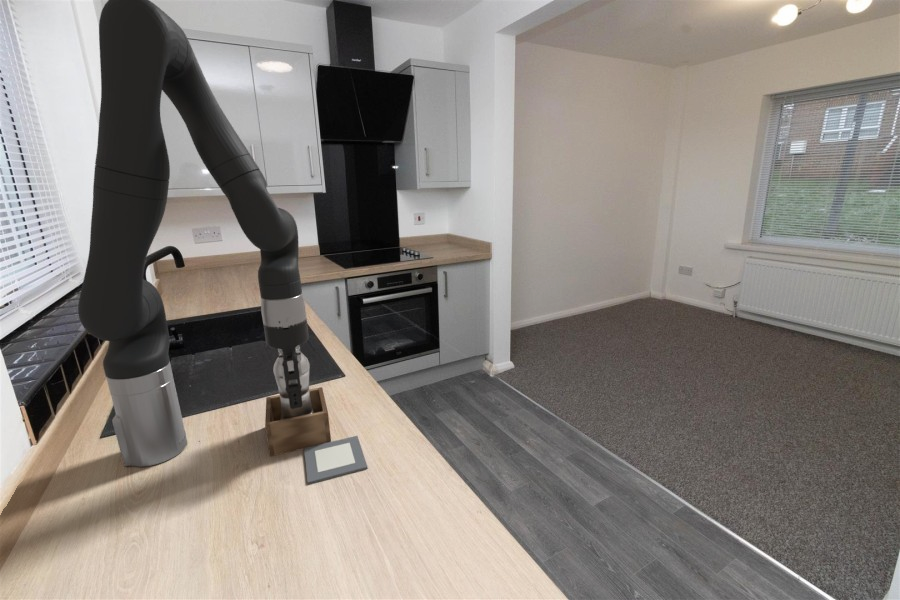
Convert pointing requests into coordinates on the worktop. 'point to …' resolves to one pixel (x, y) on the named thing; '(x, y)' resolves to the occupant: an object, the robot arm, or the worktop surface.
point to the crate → (297, 425)
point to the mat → (334, 459)
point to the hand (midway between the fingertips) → (295, 396)
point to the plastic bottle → (304, 381)
